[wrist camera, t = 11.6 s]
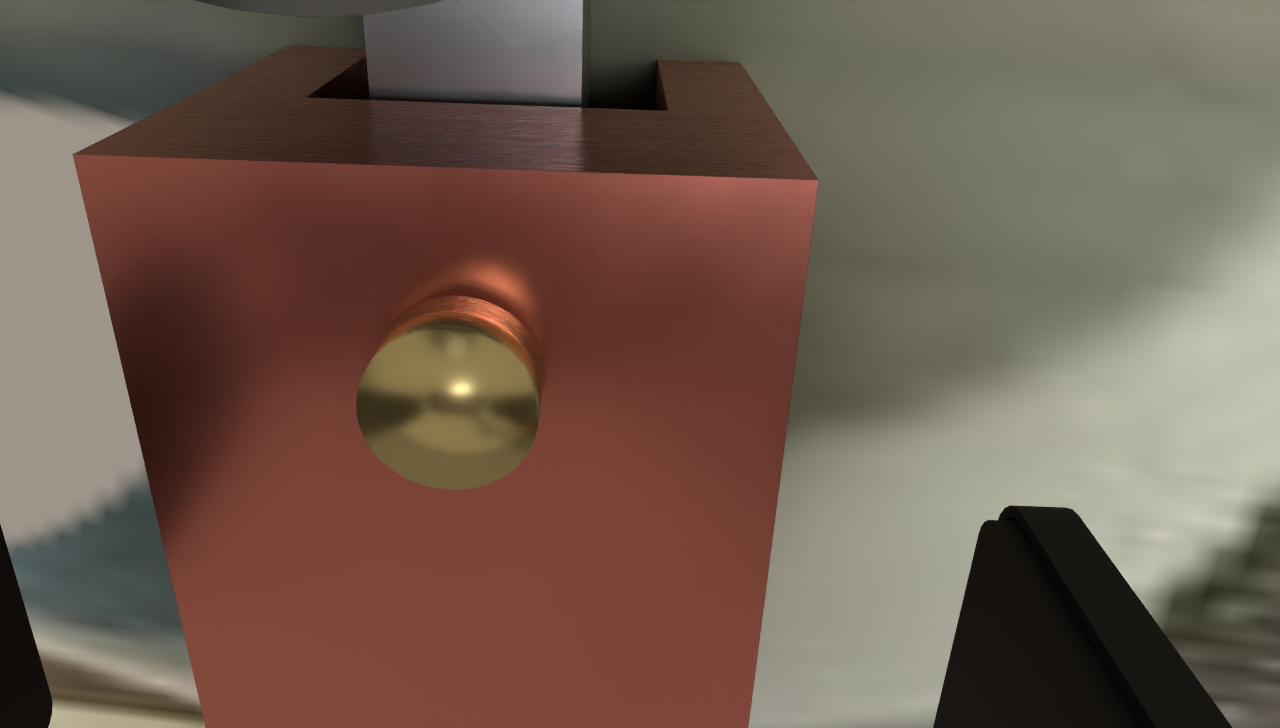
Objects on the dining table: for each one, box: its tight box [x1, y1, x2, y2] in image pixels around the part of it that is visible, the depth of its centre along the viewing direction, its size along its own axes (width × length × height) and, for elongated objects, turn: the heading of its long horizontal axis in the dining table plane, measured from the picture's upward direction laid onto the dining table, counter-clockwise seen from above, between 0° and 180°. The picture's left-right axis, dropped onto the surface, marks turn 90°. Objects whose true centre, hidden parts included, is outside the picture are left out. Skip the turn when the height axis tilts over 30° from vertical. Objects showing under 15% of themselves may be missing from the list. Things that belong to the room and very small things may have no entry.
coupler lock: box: [73, 46, 819, 728], centre depth 12 cm, size 7×6×7 cm
